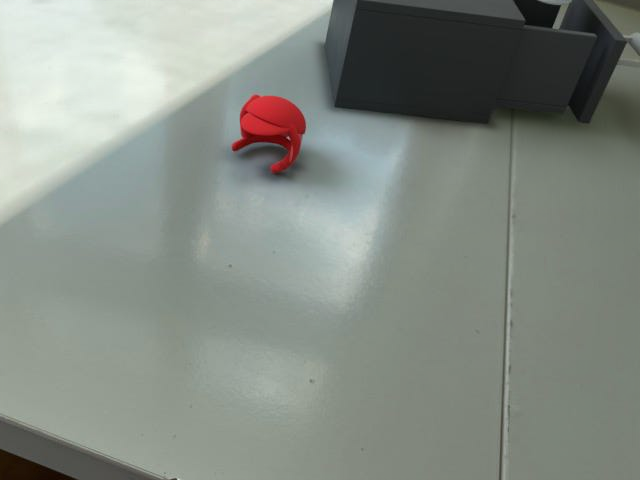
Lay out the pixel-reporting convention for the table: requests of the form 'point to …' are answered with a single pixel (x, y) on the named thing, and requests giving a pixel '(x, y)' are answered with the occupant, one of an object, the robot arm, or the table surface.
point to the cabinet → (422, 55)
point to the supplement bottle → (556, 2)
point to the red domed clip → (272, 126)
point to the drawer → (564, 59)
